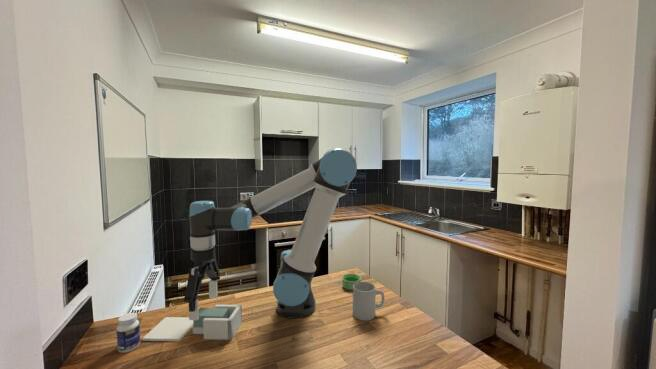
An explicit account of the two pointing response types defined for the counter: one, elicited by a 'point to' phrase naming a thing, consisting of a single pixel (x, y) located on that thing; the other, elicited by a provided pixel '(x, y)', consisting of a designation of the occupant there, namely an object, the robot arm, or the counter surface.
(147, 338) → the plate
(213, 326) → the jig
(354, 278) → the ramekin
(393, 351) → the counter surface
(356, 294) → the mug
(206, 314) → the bar
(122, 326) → the pill bottle
